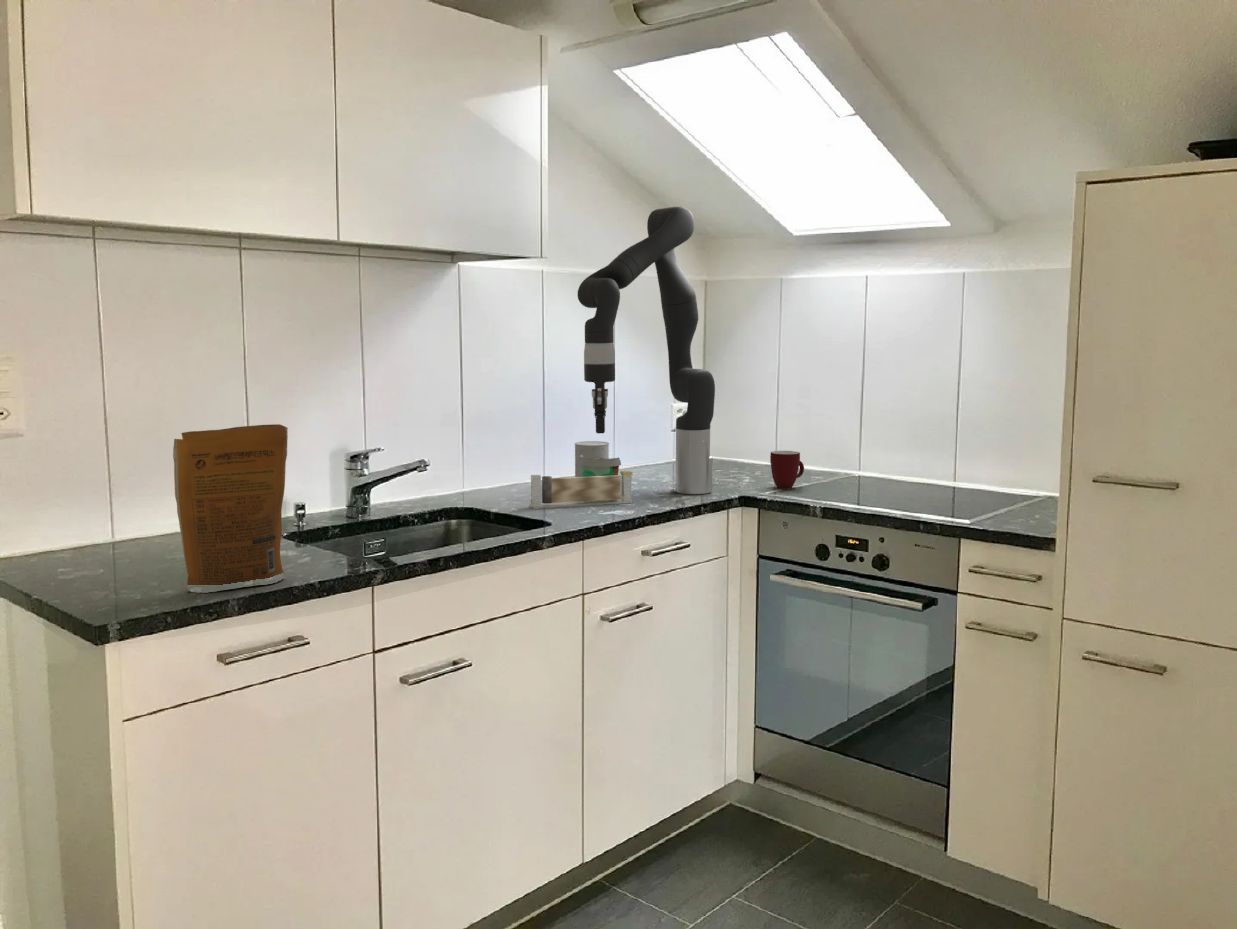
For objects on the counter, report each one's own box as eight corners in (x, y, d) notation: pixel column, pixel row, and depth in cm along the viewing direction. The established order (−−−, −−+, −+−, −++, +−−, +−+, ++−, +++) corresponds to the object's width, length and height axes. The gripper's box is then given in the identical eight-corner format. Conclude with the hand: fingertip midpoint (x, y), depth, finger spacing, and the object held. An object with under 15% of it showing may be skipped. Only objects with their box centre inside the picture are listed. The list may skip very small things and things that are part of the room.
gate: (543, 503, 247) (543, 477, 246) (541, 502, 249) (541, 476, 248) (621, 499, 253) (621, 474, 252) (618, 498, 255) (618, 472, 254)
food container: (569, 494, 267) (569, 457, 265) (581, 491, 272) (580, 454, 270) (610, 498, 261) (610, 460, 259) (621, 494, 266) (621, 457, 265)
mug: (789, 484, 284) (790, 449, 283) (811, 487, 278) (812, 452, 277) (763, 487, 278) (764, 452, 277) (785, 491, 272) (785, 455, 270)
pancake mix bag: (299, 583, 175) (292, 424, 171) (183, 600, 165) (172, 431, 161) (289, 575, 181) (282, 421, 177) (175, 590, 170) (165, 427, 166)
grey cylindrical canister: (577, 484, 284) (577, 441, 282) (610, 484, 283) (610, 441, 281) (572, 489, 274) (572, 445, 273) (607, 490, 273) (607, 445, 272)
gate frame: (533, 509, 245) (533, 476, 244) (529, 506, 249) (529, 474, 248) (633, 502, 254) (633, 471, 253) (627, 500, 258) (628, 469, 257)
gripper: (614, 363, 235) (615, 436, 238) (615, 360, 248) (615, 429, 251) (583, 363, 235) (584, 436, 238) (585, 360, 248) (586, 430, 251)
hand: (600, 432), depth 245 cm, fingers closed
